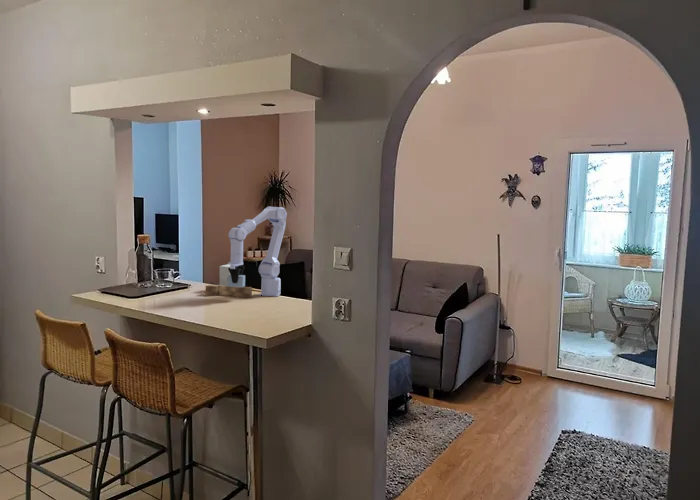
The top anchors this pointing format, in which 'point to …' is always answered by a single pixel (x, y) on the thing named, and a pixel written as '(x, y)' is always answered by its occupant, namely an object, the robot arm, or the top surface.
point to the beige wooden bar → (228, 291)
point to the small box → (224, 274)
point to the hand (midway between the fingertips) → (236, 282)
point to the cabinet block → (239, 284)
